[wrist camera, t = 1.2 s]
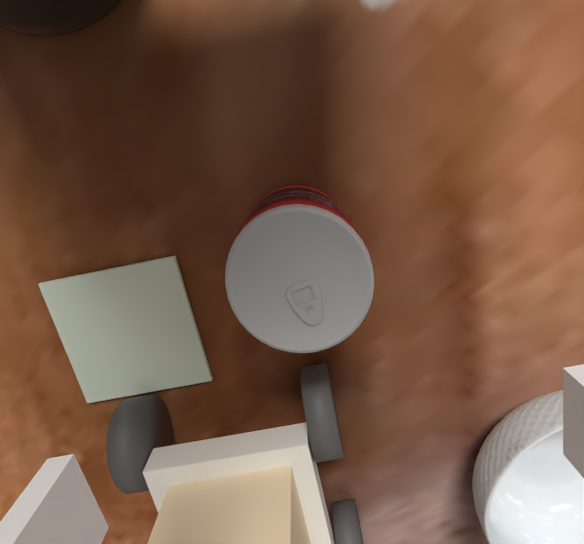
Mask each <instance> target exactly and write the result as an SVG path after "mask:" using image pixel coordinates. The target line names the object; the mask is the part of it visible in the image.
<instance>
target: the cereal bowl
mask: <svg viewBox="0 0 584 544" xmlns="http://www.w3.org/2000/svg"><path fill="white" fill-rule="evenodd" d="M472 484H473V489H472V491H473V496H474V503H475V508H476V511H477V515H478V519H479V521H480V524H481V527H482V530H483V532H484V535H485V537H486V539H487V541H488V543H489V544H584V478H583V477H582V476H581V475H580V474H579V472H578V471H577V470H576V469H575V468H574V466H573V465H572V464H571V463H570V462H569V460H568V459H567V458H566V457H565V456H564V454H563V390H560V391H556V392H552V393H549V394H545V395H542V396H540V397H536V398H534V399H533V400H530V401H528V402H526V403H524V404H523V405H521V406H519V407H517V408H515V409H514V410H513V411H512V412H510V413H509V414H507V415H506V416H505V417H504V418H503V419H502V420H501V421H500V422H499V423H498V424H497V425H496V426H495V427H494V428H493V430H492V431H491V433H490V434H489V435H488V437H486V440H485V441H484V442H483V445H482V447H481V448H480V451H479V454H478V455H477V458H476V462H475V466H474V471H473V481H472Z"/></svg>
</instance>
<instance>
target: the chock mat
mask: <svg viewBox="0 0 584 544" xmlns="http://www.w3.org/2000/svg"><path fill="white" fill-rule="evenodd" d="M38 285H39V288H40V290H41V293H42V295H43V297H44V300H45V302H46V305H47V307H48V309H49V312H50V314H51V317H52V319H53V322H54V324H55V326H56V329H57V331H58V334H59V336H60V339H61V341H62V343H63V346H64V348H65V351H66V353H67V355H68V358H69V360H70V363H71V365H72V368H73V370H74V372H75V375H76V377H77V380H78V382H79V384H80V387H81V389H82V392H83V394H84V397H85V399H86V401H87V403H92V402H98V401H103V400H109V399H114V398H120V397H125V396H131V395H136V394H142V393H148V392H153V391H159V390H164V389H170V388H175V387H181V386H186V385H192V384H197V383H203V382H208V381H212V379H213V378H212V374H211V371H210V368H209V364H208V361H207V358H206V355H205V351H204V348H203V345H202V341H201V338H200V335H199V331H198V328H197V325H196V321H195V318H194V315H193V311H192V308H191V305H190V302H189V298H188V295H187V292H186V288H185V285H184V282H183V278H182V275H181V272H180V268H179V265H178V262H177V258H176V255H174V256H169V257H164V258H159V259H154V260H149V261H144V262H139V263H135V264H130V265H125V266H120V267H115V268H110V269H105V270H100V271H95V272H90V273H85V274H80V275H75V276H70V277H66V278H61V279H56V280H51V281H46V282H41V283H39V284H38Z"/></svg>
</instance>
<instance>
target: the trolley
mask: <svg viewBox="0 0 584 544" xmlns="http://www.w3.org/2000/svg"><path fill="white" fill-rule="evenodd" d="M300 381H301V391H302V399H303V406H304V412H305V418H306V422H305V423H300V424H294V425H288V426H282V427H276V428H270V429H265V430H259V431H253V432H247V433H241V434H235V435H229V436H224V437H218V438H212V439H206V440H200V441H194V442H189V443H183V444H177V445H173V436H172V427H171V422H170V418H169V414H168V411H167V409H166V407H165V405H164V403H163V401H162V400H161V399H160V398H159V397H158V396H156V395H146V396H140V397H135V398H129V399H125V400H123V401H122V402H121V403H119V405H118V406H117V407H116V409H115V411H114V413H113V415H112V418H111V420H110V424H109V429H108V435H107V458H108V465H109V469H110V473H111V476H112V479H113V481H114V483H115V484H116V486H117V487H118V488H119V489H120V490H121V491H122V492H124V493H127V494H130V493H136V492H142V491H148V490H149V491H150V493H151V496H152V498H153V501H154V503H155V506H156V509H157V511H158V516H157V519H156V522H155V524H154V527H153V530H152V533H151V535H150V538H149V541H148V544H335V541H334V536H333V532H332V528H331V524H330V519H329V515H328V511H327V506H326V502H325V498H324V493H323V489H322V485H321V481H320V476H319V472H318V468H317V463H319V462H325V461H331V460H337V459H343V458H344V454H343V447H342V441H341V435H340V429H339V423H338V418H337V412H336V407H335V402H334V397H333V392H332V387H331V382H330V377H329V372H328V368H327V364H326V363H323V364H318V365H312V366H307V367H301V368H300ZM332 513H333V523H334V531H335V538H336V544H363V539H362V534H361V528H360V523H359V518H358V513H357V508H356V504H355V499H350V500H343V501H337V502H332Z"/></svg>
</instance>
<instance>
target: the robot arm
mask: <svg viewBox="0 0 584 544" xmlns="http://www.w3.org/2000/svg"><path fill="white" fill-rule="evenodd" d="M118 2H119V0H0V26H2V27H4V28H7V29H10V30H13V31H16V32H20V33H24V34H31V35H41V36H49V35H60V34H65V33H70V32H73V31H77V30H79V29H82V28H84V27H86V26H88V25H90V24H92V23H94V22H95V21H97V20H99V19H100V18H101V17H103V16H104V15H105V14H106V13H108V12H109V11H110V10H111V9H112V8H113V7H114V6H115V5H116V4H117V3H118ZM563 454H564V456H565V457H566V458H567V459H568V460H569V462H570V463H571V464H572V465H573V466H574V468H575V469H576V470H577V471H578V472H579V474H580V475H581V476H582V477H583V478H584V364H583V365H577V366H572V367H566V368H563ZM108 528H109V527H108V525H107V523H106V521H105V519H104V517H103V514H102V512H101V510H100V508H99V506H98V504H97V502H96V500H95V498H94V495H93V493H92V491H91V489H90V487H89V485H88V483H87V481H86V479H85V476H84V474H83V472H82V470H81V468H80V466H79V464H78V462H77V460H76V458H75V455H74V454H71V455H65V456H60V457H54V458H48V459H47V460H46V462H45V463H44V464H43V466H42V467H41V468H40V470H39V471H38V472H37V474H36V475H35V476H34V478H33V479H32V480H31V482H30V483H29V484H28V486H27V487H26V488H25V490H24V491H23V492H22V494H21V495H20V496H19V498H18V499H17V500H16V502H15V503H14V504H13V506H12V507H11V508H10V510H9V511H8V512H7V514H6V515H5V516H4V518H3V519H2V520H1V522H0V544H101V543H102V541H103V539H104V536H105V534H106V532H107V530H108Z"/></svg>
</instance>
